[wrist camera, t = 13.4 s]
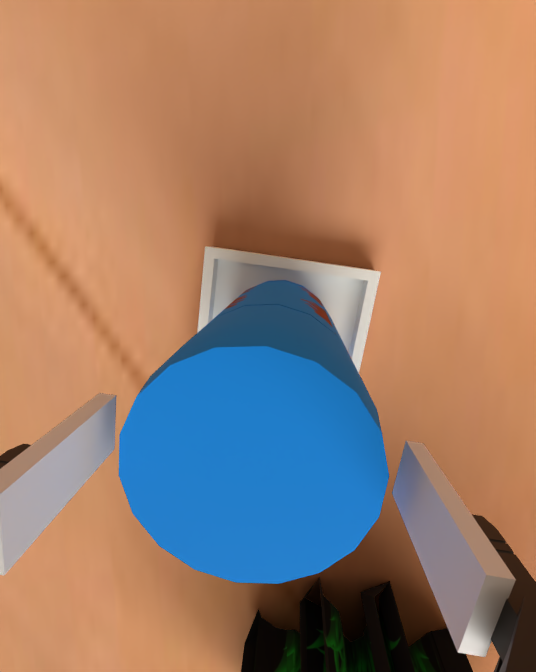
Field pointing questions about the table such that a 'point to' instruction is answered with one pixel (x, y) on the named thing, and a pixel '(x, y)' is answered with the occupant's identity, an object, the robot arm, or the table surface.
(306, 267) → the tray
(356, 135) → the table surface
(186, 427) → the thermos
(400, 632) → the decorative plant
